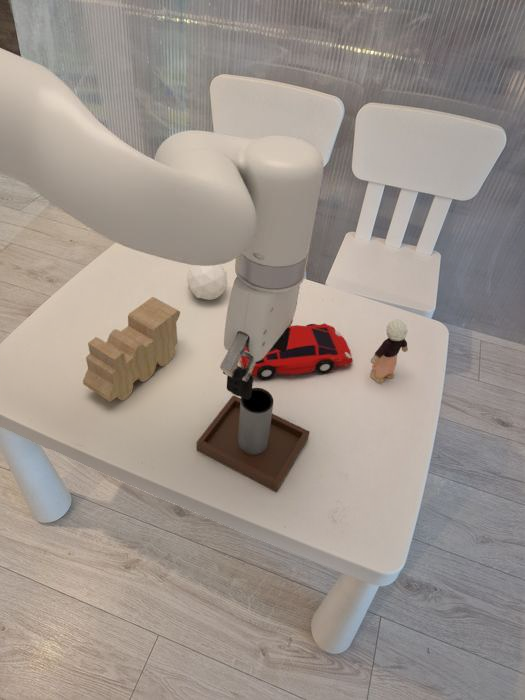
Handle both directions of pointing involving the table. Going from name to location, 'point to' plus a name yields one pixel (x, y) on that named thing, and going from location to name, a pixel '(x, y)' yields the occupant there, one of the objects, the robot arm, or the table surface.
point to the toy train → (132, 350)
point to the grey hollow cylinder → (255, 421)
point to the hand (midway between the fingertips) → (257, 369)
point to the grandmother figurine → (389, 351)
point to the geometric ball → (207, 281)
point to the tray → (260, 467)
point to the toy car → (304, 353)
